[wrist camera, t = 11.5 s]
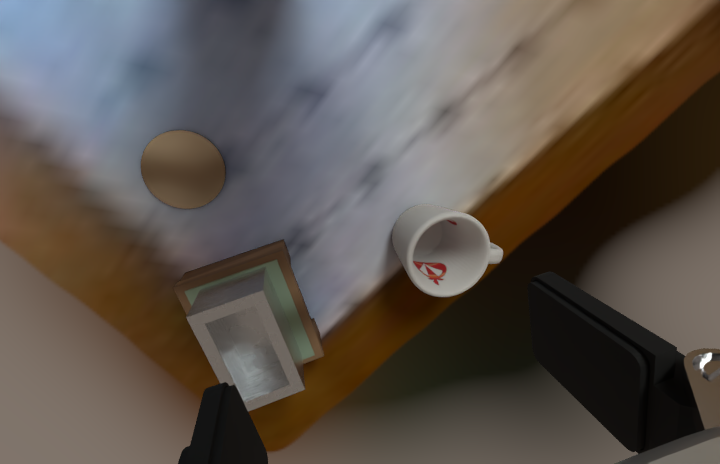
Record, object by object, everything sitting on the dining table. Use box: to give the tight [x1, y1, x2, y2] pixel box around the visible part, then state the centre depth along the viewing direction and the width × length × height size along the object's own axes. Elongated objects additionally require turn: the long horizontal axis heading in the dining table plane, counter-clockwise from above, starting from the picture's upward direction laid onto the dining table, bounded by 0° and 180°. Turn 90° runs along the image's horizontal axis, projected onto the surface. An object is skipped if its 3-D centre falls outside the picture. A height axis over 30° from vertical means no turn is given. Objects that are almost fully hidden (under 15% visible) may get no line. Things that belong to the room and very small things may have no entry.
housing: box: [186, 267, 305, 411], centre depth 32 cm, size 10×6×5 cm, turn 17°
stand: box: [173, 239, 324, 364], centre depth 37 cm, size 12×10×4 cm
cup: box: [392, 204, 503, 297], centre depth 37 cm, size 11×8×8 cm
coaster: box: [141, 130, 226, 209], centre depth 33 cm, size 7×7×1 cm
